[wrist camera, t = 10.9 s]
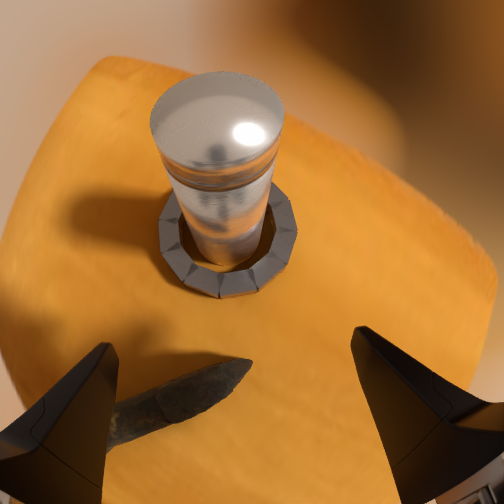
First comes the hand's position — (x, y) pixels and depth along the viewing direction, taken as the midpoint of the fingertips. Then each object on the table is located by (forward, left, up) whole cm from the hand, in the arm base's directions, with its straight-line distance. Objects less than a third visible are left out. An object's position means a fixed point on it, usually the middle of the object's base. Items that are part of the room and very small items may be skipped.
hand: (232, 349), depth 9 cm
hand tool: (-8, +5, -11) cm, 14 cm away
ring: (+8, +3, -10) cm, 13 cm away
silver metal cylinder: (+8, +3, -10) cm, 13 cm away
